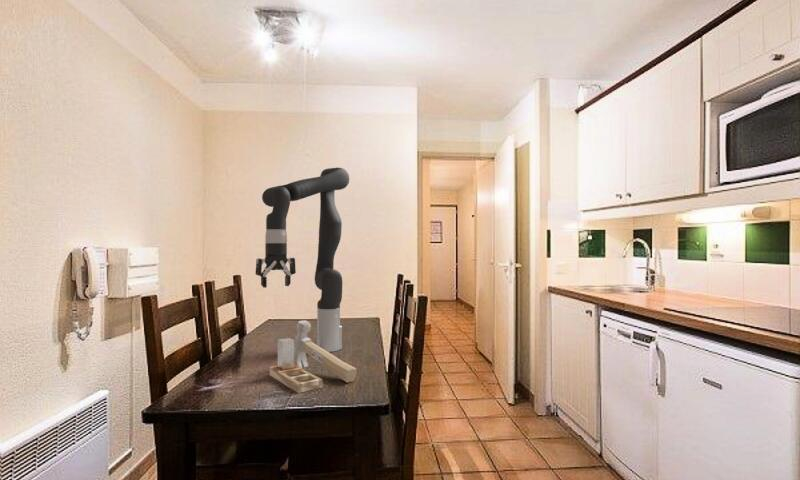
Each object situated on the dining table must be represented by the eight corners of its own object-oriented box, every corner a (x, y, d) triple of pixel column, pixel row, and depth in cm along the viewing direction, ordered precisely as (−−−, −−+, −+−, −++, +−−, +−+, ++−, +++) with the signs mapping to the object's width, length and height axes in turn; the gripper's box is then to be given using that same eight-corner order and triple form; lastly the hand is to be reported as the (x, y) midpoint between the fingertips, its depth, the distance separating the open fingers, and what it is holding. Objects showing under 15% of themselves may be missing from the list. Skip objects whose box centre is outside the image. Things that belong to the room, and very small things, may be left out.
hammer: (361, 351, 143) (306, 319, 163) (349, 354, 140) (295, 321, 160) (353, 397, 146) (300, 360, 165) (342, 401, 142) (289, 362, 162)
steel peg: (288, 373, 152) (289, 338, 152) (293, 376, 149) (294, 340, 149) (277, 375, 150) (277, 339, 150) (282, 378, 146) (282, 341, 147)
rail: (292, 371, 155) (292, 363, 155) (322, 387, 138) (322, 378, 138) (269, 375, 150) (269, 366, 150) (298, 393, 133) (298, 383, 133)
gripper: (290, 242, 171) (290, 284, 171) (253, 242, 163) (252, 287, 163) (298, 242, 165) (298, 286, 165) (260, 242, 157) (260, 288, 157)
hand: (275, 286), depth 164 cm, fingers open, 8 cm apart
